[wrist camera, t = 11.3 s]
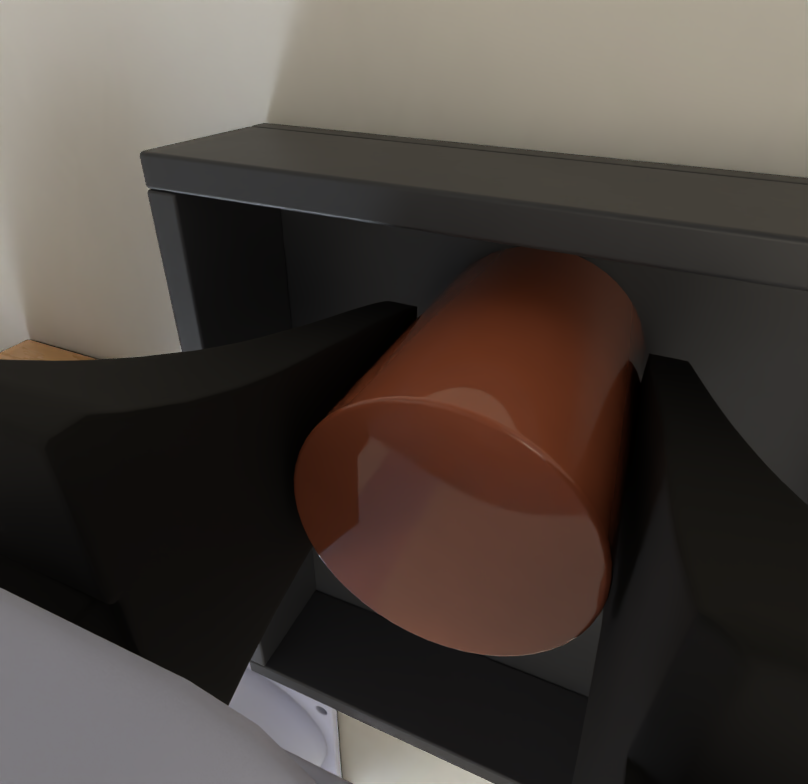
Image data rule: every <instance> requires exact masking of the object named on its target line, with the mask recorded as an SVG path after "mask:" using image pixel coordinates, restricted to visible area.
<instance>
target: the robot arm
mask: <svg viewBox="0 0 808 784" xmlns="http://www.w3.org/2000/svg"><path fill="white" fill-rule="evenodd" d="M416 319H417V306H412V305H407V304H402V303H397V302H392V301H383V302H378V303H374V304H370V305H366V306H363V307H359V308H356V309H353V310H350V311H347V312H344V313H340V314H337V315H334V316H331V317H328V318H325V319H322V320H319V321H315V322H312V323H309V324H306V325H303V326H299V327H295V328H292V329H288V330H285V331H281V332H278V333H274V334H271V335H267V336H263V337H260V338H256V339H252V340H247V341H243V342H238V343H234V344H228V345H223V346H218V347H212V348H207V349H201V350H195V351H186V352H178V353H170V354H161V355H153V356H144V357H133V358H117V359H98V360H60V361H51V360H2V359H0V784H352V783H350V782H348V781H346V780H344V779H342V775H341V762H340V749H339V736H338V723H337V710H335V709H333V708H331V707H329V706H327V705H325V704H322V703H320V702H318V701H316V700H314V699H312V698H310V697H307V696H305V695H303V694H301V693H299V692H297V691H294V690H292V689H290V688H288V687H286V686H284V685H282V684H279V683H277V682H275V681H273V680H271V679H269V678H267V677H264V676H262V675H260V674H258V673H256V672H254V671H252V670H251V667H250V660H251V658H252V656H253V654H254V653H255V651H256V649H257V647H258V645H259V643H260V641H261V639H262V637H263V635H264V633H265V631H266V629H267V627H268V625H269V624H270V622H271V620H272V618H273V616H274V614H275V612H276V610H277V608H278V607H279V605H280V603H281V601H282V599H283V598H284V596H285V594H286V592H287V590H288V589H289V587H290V585H291V583H292V581H293V580H294V578H295V576H296V574H297V572H298V570H299V569H300V567H301V565H302V564H303V562H304V560H305V559H306V557H307V555H308V553H309V552H310V550H311V548H312V547H313V546H312V544H311V542H310V541H309V539H308V537H307V535H306V533H305V530H304V528H303V526H302V524H301V521H300V518H299V514H298V511H297V508H296V502H295V497H294V481H293V479H294V471H295V464H296V461H297V457H298V454H299V451H300V448H301V446H302V444H303V443H304V441H305V439H306V437H307V435H308V434H309V433H310V432H311V431H312V429H313V428H314V427H315V426H316V425H317V423H318V422H319V421H320V420H321V419H322V418H323V417H324V416H325V415H326V414H327V413H328V412H329V411H330V410H331V409H332V408H333V407H334V405H335V404H336V403H337V402H338V401H339V400H340V399H341V398H342V397H343V396H344V395H345V394H346V393H347V392H348V391H349V390H350V389H351V387H352V386H353V385H354V384H355V383H356V382H357V381H358V380H359V379H360V378H361V377H362V376H363V375H364V374H365V373H366V372H367V371H368V369H369V368H370V367H371V366H372V365H373V364H374V363H375V362H376V361H377V360H378V359H379V358H380V357H381V356H382V355H383V354H384V353H385V352H386V350H387V349H388V348H389V347H390V346H391V345H392V344H393V343H394V342H395V341H396V340H397V339H398V338H399V337H400V336H401V335H402V334H403V332H404V331H405V330H406V329H407V328H408V327H409V326H410V325H411V324H412V323H413V322H414V321H415V320H416ZM572 784H808V505H807V504H806V503H805V502H804V501H803V500H802V499H801V498H799V497H798V496H797V495H796V494H795V493H794V492H793V491H792V490H791V489H790V488H789V487H788V486H787V485H786V484H785V483H784V482H782V481H781V480H780V479H779V477H778V476H777V475H776V474H775V473H774V472H773V471H772V470H771V469H770V468H769V467H768V466H767V465H766V464H765V463H764V462H763V460H762V459H761V458H760V457H759V456H758V455H757V454H756V452H755V451H754V450H753V449H752V448H751V447H750V446H749V445H748V443H747V442H746V441H745V440H744V439H743V437H742V436H741V435H740V434H739V432H738V431H737V430H736V429H735V428H734V426H733V425H732V424H731V422H730V421H729V420H728V418H727V417H726V416H725V414H724V413H723V412H722V410H721V409H720V408H719V406H718V405H717V403H716V402H715V400H714V399H713V398H712V396H711V395H710V393H709V392H708V390H707V389H706V387H705V386H704V384H703V383H702V381H701V379H700V378H699V376H698V375H697V373H696V372H695V370H694V369H693V367H692V366H691V364H690V363H689V361H685V360H680V359H675V358H670V357H665V356H660V355H655V354H650V353H649V356H648V360H647V363H646V366H645V370H644V373H643V376H642V380H641V383H640V389H639V396H638V403H637V410H636V417H635V427H634V435H633V442H632V449H631V456H630V463H629V470H628V477H627V484H626V491H625V498H624V504H623V511H622V518H621V525H620V532H619V539H618V546H617V553H616V560H615V567H614V574H613V580H612V585H611V589H610V593H609V597H608V599H607V602H606V604H605V606H604V608H603V616H602V625H601V631H600V637H599V642H598V648H597V653H596V659H595V665H594V670H593V676H592V681H591V687H590V692H589V697H588V703H587V708H586V713H585V719H584V724H583V730H582V735H581V740H580V745H579V751H578V756H577V761H576V766H575V771H574V776H573V781H572Z"/></svg>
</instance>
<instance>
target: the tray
mask: <svg viewBox="0 0 808 784" xmlns="http://www.w3.org/2000/svg"><path fill="white" fill-rule="evenodd" d="M140 159H141V163H142V168H143V173H144V177H145V182H146V185H147V187H148V188H150V190H148V197H149V202H150V206H151V211H152V216H153V220H154V225H155V230H156V234H157V239H158V243H159V248H160V253H161V257H162V262H163V266H164V271H165V276H166V280H167V285H168V289H169V294H170V299H171V303H172V308H173V313H174V317H175V322H176V326H177V331H178V336H179V340H180V345H181V349H182V352H186V351H195V350H201V349H207V348H212V347H218V346H223V345H228V344H234V343H238V342H243V341H247V340H252V339H256V338H260V337H263V336H267V335H271V334H274V333H278V332H281V331H285V330H288V329H292V328H295V327H299V326H303V325H306V324H309V323H312V322H315V321H319V320H322V319H325V318H328V317H331V316H334V315H337V314H340V313H344V312H347V311H350V310H353V309H356V308H359V307H363V306H366V305H370V304H374V303H378V302H383V301H392V302H397V303H402V304H407V305H412V306H417V318H418V317H419V316H420V314H421V313H422V312H423V311H424V310H425V309H426V308H427V307H428V306H429V305H430V304H431V303H432V302H433V301H434V300H435V299H436V298H437V296H438V295H439V294H440V293H441V292H442V291H443V290H444V289H445V288H446V287H447V286H448V285H449V284H450V283H451V282H452V281H453V280H454V278H455V277H456V276H457V275H458V274H460V273H461V272H462V271H463V270H464V269H465V268H466V267H468V266H469V265H471V264H472V263H474V262H475V261H477V260H478V259H480V258H482V257H484V256H487V255H489V254H491V253H494V252H497V251H500V250H504V249H509V248H515V247H527V248H533V249H540V250H546V251H552V252H559V253H565V254H572V255H577V256H579V257H581V258H583V259H585V260H587V261H589V262H591V263H593V264H594V265H596V266H597V267H599V268H600V269H601V270H603V271H604V272H606V273H607V274H608V275H609V276H610V277H611V278H612V279H613V280H615V281H616V282H617V283H618V285H619V286H620V287H621V288H622V289H623V291H624V292H625V293H626V294H627V296H628V297H629V299H630V301H631V302H632V304H633V305H634V307H635V309H636V312H637V314H638V316H639V319H640V322H641V325H642V329H643V333H644V342H645V358H644V366H643V373H644V370H645V366H646V363H647V360H648V356H649V353H650V354H655V355H660V356H665V357H670V358H675V359H680V360H685V361H689V363H690V364H691V366H692V367H693V369H694V370H695V372H696V373H697V375H698V376H699V378H700V379H701V381H702V383H703V384H704V386H705V387H706V389H707V390H708V392H709V393H710V395H711V396H712V398H713V399H714V400H715V402H716V403H717V405H718V406H719V408H720V409H721V410H722V412H723V413H724V414H725V416H726V417H727V418H728V420H729V421H730V422H731V424H732V425H733V426H734V428H735V429H736V430H737V431H738V432H739V434H740V435H741V436H742V437H743V439H744V440H745V441H746V442H747V443H748V445H749V446H750V447H751V448H752V449H753V450H754V451H755V452H756V454H757V455H758V456H759V457H760V458H761V459H762V460H763V462H764V463H765V464H766V465H767V466H768V467H769V468H770V469H771V470H772V471H773V472H774V473H775V474H776V475H777V476H778V477H779V479H780V480H781V481H782V482H784V483H785V484H786V485H787V486H788V487H789V488H790V489H791V490H792V491H793V492H794V493H795V494H796V495H797V496H798V497H799V498H801V499H802V500H803V501H804V502H805V503H806V504H807V505H808V178H800V177H790V176H780V175H770V174H760V173H751V172H741V171H731V170H721V169H711V168H701V167H691V166H681V165H672V164H662V163H652V162H642V161H632V160H622V159H612V158H603V157H593V156H583V155H573V154H563V153H553V152H543V151H534V150H524V149H514V148H504V147H494V146H484V145H474V144H464V143H455V142H445V141H435V140H425V139H415V138H405V137H395V136H386V135H376V134H366V133H356V132H346V131H336V130H326V129H317V128H307V127H297V126H287V125H277V124H267V123H263V124H258V125H254V126H252V127H246V128H242V129H237V130H233V131H228V132H224V133H220V134H215V135H211V136H206V137H202V138H197V139H193V140H189V141H184V142H180V143H175V144H171V145H167V146H162V147H158V148H153V149H149V150H145V151H142V152H141V153H140ZM643 373H642V376H643ZM602 616H603V610H602V612H601V613H600V614H599V616H598V617H597V618H596V620H595V621H594V622H593V624H592V625H591V626H590V627H589V628H588V629H587V630H585V631H584V632H583V633H582V634H581V635H580V636H578V637H577V638H575V639H573V640H572V641H570V642H569V643H567V644H565V645H563V646H560V647H558V648H555V649H553V650H550V651H546V652H542V653H538V654H533V655H525V656H489V655H480V654H474V653H469V652H463V651H460V650H456V649H452V648H449V647H445V646H442V645H439V644H437V643H434V642H431V641H428V640H426V639H424V638H421V637H419V636H417V635H415V634H412V633H410V632H408V631H406V630H405V629H403V628H401V627H399V626H397V625H395V624H393V623H392V622H390V621H389V620H387V619H385V618H384V617H382V616H381V615H379V614H378V613H376V612H375V611H374V610H372V609H371V608H369V607H368V606H367V605H365V604H364V603H363V602H362V601H360V600H359V599H358V598H357V597H356V596H355V595H353V594H352V593H351V592H350V591H349V590H348V589H347V588H346V587H345V586H344V585H343V584H342V583H341V582H340V581H339V580H338V579H337V578H336V577H335V576H334V575H333V573H332V572H331V571H330V570H329V569H328V568H327V566H326V565H325V564H324V562H323V561H322V559H321V558H320V557H319V555H318V554H317V552H316V551H315V549H314V547H312V548H311V550H310V552H309V553H308V555H307V557H306V559H305V560H304V562H303V564H302V565H301V567H300V569H299V570H298V572H297V574H296V576H295V578H294V580H293V581H292V583H291V585H290V587H289V589H288V590H287V592H286V594H285V596H284V598H283V599H282V601H281V603H280V605H279V607H278V608H277V610H276V612H275V614H274V616H273V618H272V620H271V622H270V624H269V625H268V627H267V629H266V631H265V633H264V635H263V637H262V639H261V641H260V643H259V645H258V647H257V649H256V651H255V653H254V654H253V656H252V658H251V660H250V667H251V670H252V671H254V672H256V673H258V674H260V675H262V676H264V677H267V678H269V679H271V680H273V681H275V682H277V683H279V684H282V685H284V686H286V687H288V688H290V689H292V690H294V691H297V692H299V693H301V694H303V695H305V696H307V697H310V698H312V699H314V700H316V701H318V702H320V703H322V704H325V705H327V706H329V707H331V708H333V709H335V710H337V711H340V712H342V713H344V714H346V715H348V716H350V717H352V718H355V719H357V720H359V721H361V722H363V723H365V724H368V725H370V726H372V727H374V728H376V729H378V730H380V731H383V732H385V733H387V734H389V735H391V736H393V737H395V738H398V739H400V740H402V741H404V742H406V743H408V744H411V745H413V746H415V747H417V748H419V749H421V750H423V751H426V752H428V753H430V754H432V755H434V756H436V757H438V758H441V759H443V760H445V761H447V762H449V763H451V764H453V765H456V766H458V767H460V768H462V769H464V770H466V771H469V772H471V773H473V774H475V775H477V776H479V777H481V778H484V779H486V780H488V781H490V782H492V783H494V784H572V781H573V776H574V771H575V766H576V761H577V756H578V751H579V745H580V740H581V735H582V730H583V724H584V719H585V713H586V708H587V703H588V697H589V692H590V687H591V681H592V676H593V670H594V665H595V659H596V653H597V648H598V642H599V637H600V631H601V625H602Z"/></svg>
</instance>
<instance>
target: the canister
mask: <svg viewBox="0 0 808 784" xmlns="http://www.w3.org/2000/svg"><path fill="white" fill-rule="evenodd" d="M644 358H645V342H644V333H643V329H642V325H641V322H640V319H639V316H638V314H637V312H636V309H635V307H634V305H633V304H632V302H631V301H630V299H629V297H628V296H627V294H626V293H625V292H624V291H623V289H622V288H621V287H620V286H619V285H618V283H617V282H616V281H615V280H613V279H612V278H611V277H610V276H609V275H608V274H607V273H606V272H604V271H603V270H601V269H600V268H599V267H597V266H596V265H594V264H593V263H591V262H589V261H587V260H585V259H583V258H581V257H579V256H577V255H572V254H565V253H559V252H552V251H546V250H540V249H533V248H527V247H515V248H509V249H504V250H500V251H497V252H494V253H491V254H489V255H487V256H484V257H482V258H480V259H478V260H477V261H475V262H474V263H472V264H471V265H469V266H468V267H466V268H465V269H464V270H463V271H462V272H461V273H460V274H458V275H457V276H456V277H455V278H454V280H453V281H452V282H451V283H450V284H449V285H448V286H447V287H446V288H445V289H444V290H443V291H442V292H441V293H440V294H439V295H438V296H437V298H436V299H435V300H434V301H433V302H432V303H431V304H430V305H429V306H428V307H427V308H426V309H425V310H424V311H423V312H422V313H421V314H420V316H419V317H418V318H417V319H416V320H415V321H414V322H413V323H412V324H411V325H410V326H409V327H408V328H407V329H406V330H405V331H404V332H403V334H402V335H401V336H400V337H399V338H398V339H397V340H396V341H395V342H394V343H393V344H392V345H391V346H390V347H389V348H388V349H387V350H386V352H385V353H384V354H383V355H382V356H381V357H380V358H379V359H378V360H377V361H376V362H375V363H374V364H373V365H372V366H371V367H370V368H369V369H368V371H367V372H366V373H365V374H364V375H363V376H362V377H361V378H360V379H359V380H358V381H357V382H356V383H355V384H354V385H353V386H352V387H351V389H350V390H349V391H348V392H347V393H346V394H345V395H344V396H343V397H342V398H341V399H340V400H339V401H338V402H337V403H336V404H335V405H334V407H333V408H332V409H331V410H330V411H329V412H328V413H327V414H326V415H325V416H324V417H323V418H322V419H321V420H320V421H319V422H318V423H317V425H316V426H315V427H314V428H313V429H312V431H311V432H310V433H309V434H308V435H307V437H306V439H305V441H304V443H303V444H302V446H301V448H300V451H299V454H298V457H297V461H296V464H295V471H294V479H293V481H294V497H295V502H296V508H297V511H298V514H299V518H300V521H301V524H302V526H303V528H304V530H305V533H306V535H307V537H308V539H309V541H310V542H311V544H312V546H313V547H314V549H315V551H316V552H317V554H318V555H319V557H320V558H321V559H322V561H323V562H324V564H325V565H326V566H327V568H328V569H329V570H330V571H331V572H332V573H333V575H334V576H335V577H336V578H337V579H338V580H339V581H340V582H341V583H342V584H343V585H344V586H345V587H346V588H347V589H348V590H349V591H350V592H351V593H352V594H353V595H355V596H356V597H357V598H358V599H359V600H360V601H362V602H363V603H364V604H365V605H367V606H368V607H369V608H371V609H372V610H374V611H375V612H376V613H378V614H379V615H381V616H382V617H384V618H385V619H387V620H389V621H390V622H392V623H393V624H395V625H397V626H399V627H401V628H403V629H405V630H406V631H408V632H410V633H412V634H415V635H417V636H419V637H421V638H424V639H426V640H428V641H431V642H434V643H437V644H439V645H442V646H445V647H449V648H452V649H456V650H460V651H463V652H469V653H474V654H480V655H489V656H525V655H533V654H538V653H542V652H546V651H550V650H553V649H555V648H558V647H560V646H563V645H565V644H567V643H569V642H570V641H572V640H573V639H575V638H577V637H578V636H580V635H581V634H582V633H583V632H584V631H585V630H587V629H588V628H589V627H590V626H591V625H592V624H593V622H594V621H595V620H596V618H597V617H598V616H599V614H600V613H601V612H602V610H603V608H604V606H605V604H606V602H607V599H608V597H609V593H610V589H611V585H612V580H613V574H614V567H615V560H616V553H617V546H618V539H619V532H620V525H621V518H622V511H623V504H624V498H625V491H626V484H627V477H628V470H629V463H630V456H631V449H632V442H633V435H634V427H635V417H636V410H637V403H638V396H639V389H640V383H641V380H642V373H643V366H644Z"/></svg>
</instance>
